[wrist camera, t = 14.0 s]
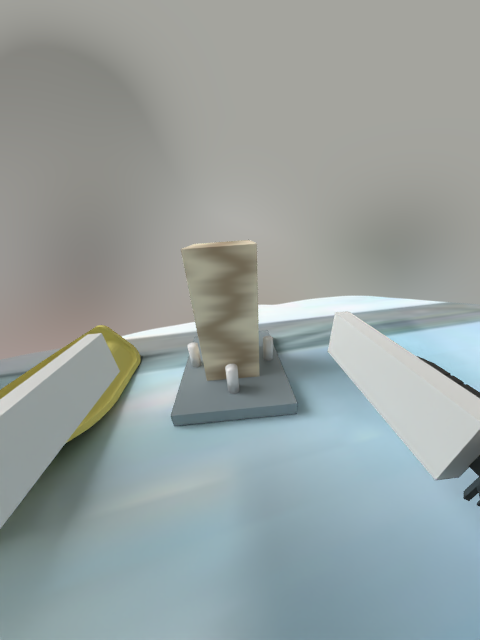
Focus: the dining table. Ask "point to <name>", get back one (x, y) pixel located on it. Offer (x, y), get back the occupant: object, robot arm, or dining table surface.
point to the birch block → (225, 305)
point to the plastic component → (127, 365)
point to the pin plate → (233, 390)
